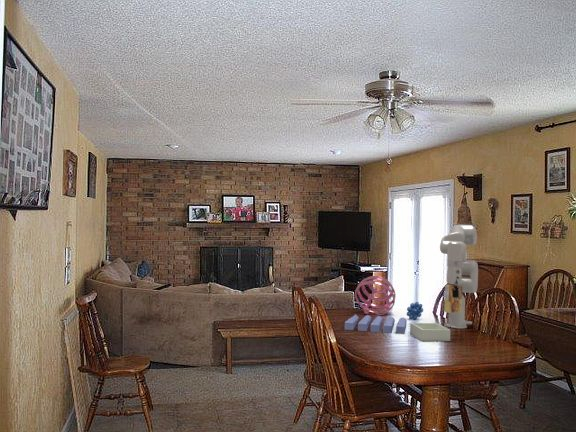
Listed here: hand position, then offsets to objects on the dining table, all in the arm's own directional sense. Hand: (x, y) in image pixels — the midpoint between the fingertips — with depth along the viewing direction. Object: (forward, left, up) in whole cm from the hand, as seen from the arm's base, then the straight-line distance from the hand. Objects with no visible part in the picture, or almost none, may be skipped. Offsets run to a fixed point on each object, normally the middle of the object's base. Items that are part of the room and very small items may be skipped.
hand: (453, 296), depth 316 cm
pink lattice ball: (+22, -83, -25) cm, 89 cm away
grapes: (+1, -63, -24) cm, 68 cm away
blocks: (+33, -36, -25) cm, 55 cm away
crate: (+12, -4, -24) cm, 27 cm away
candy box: (0, 0, -9) cm, 9 cm away
